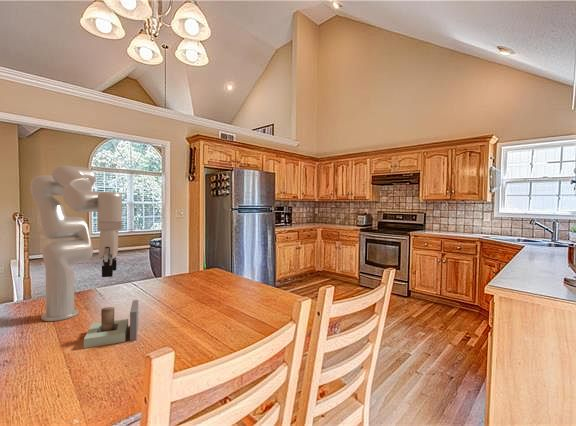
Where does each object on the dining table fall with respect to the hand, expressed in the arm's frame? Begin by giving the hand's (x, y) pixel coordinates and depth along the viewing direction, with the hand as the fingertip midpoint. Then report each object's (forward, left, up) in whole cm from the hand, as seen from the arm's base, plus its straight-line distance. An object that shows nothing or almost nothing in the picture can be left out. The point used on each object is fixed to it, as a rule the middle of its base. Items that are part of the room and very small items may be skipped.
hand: (109, 273), depth 107 cm
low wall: (+1, +8, -23) cm, 24 cm away
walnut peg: (+1, 0, -23) cm, 23 cm away
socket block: (+1, 0, -23) cm, 23 cm away
